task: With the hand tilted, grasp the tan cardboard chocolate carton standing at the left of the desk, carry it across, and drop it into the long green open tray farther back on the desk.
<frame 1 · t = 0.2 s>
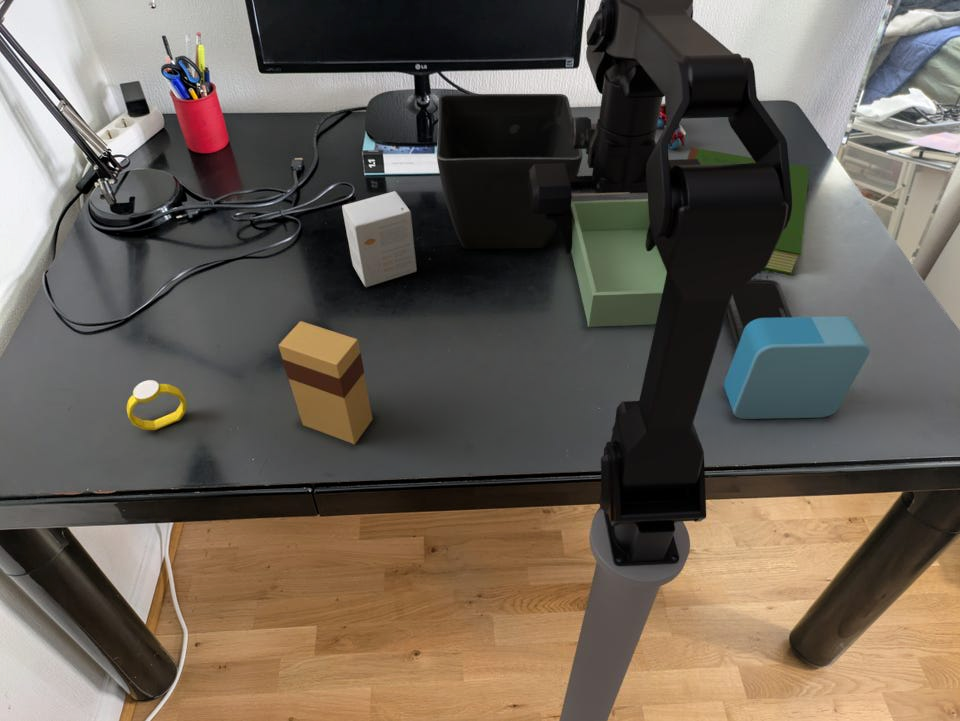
hand: (607, 250, 79), 14 cm above the table, tool pointing down, fingers open, 9 cm apart
green open tray: (622, 274, 98), on the table
watch: (166, 423, 80), on the table
blue rounded flat block: (775, 405, 81), on the table
hardcover book: (733, 218, 108), on the table
phone: (758, 323, 91), on the table
chocolate carton: (337, 422, 80), on the table
flower pot: (504, 226, 107), on the table
hoverbike: (663, 137, 126), on the table
small box: (384, 270, 100), on the table
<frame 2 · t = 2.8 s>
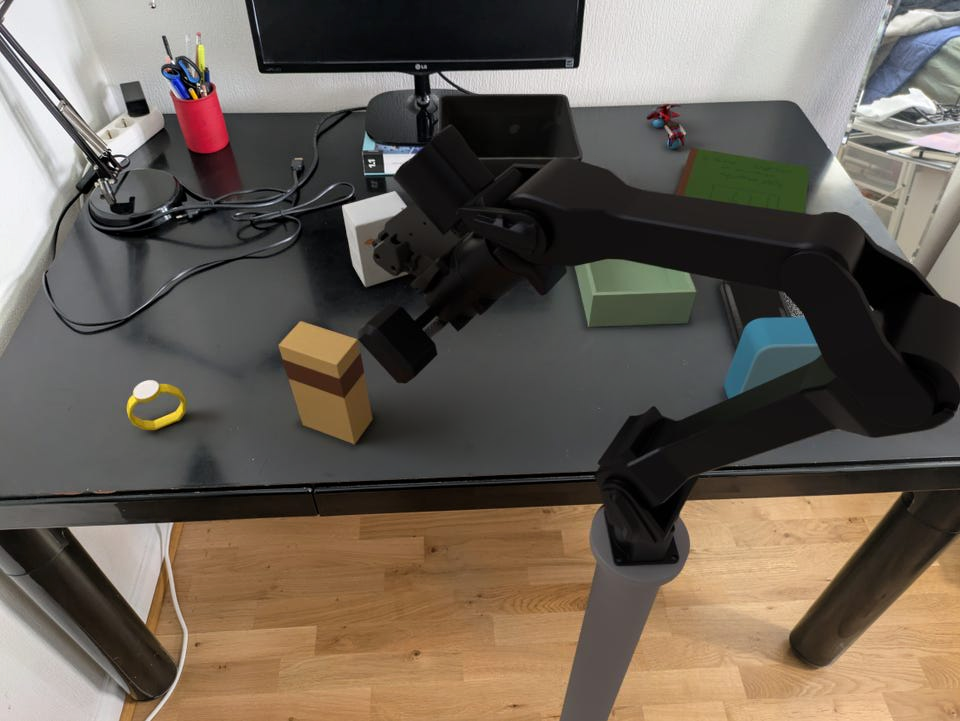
hand: (409, 329, 71), 13 cm above the table, tool tilted 35°, fingers open, 9 cm apart
nothing on the table moved.
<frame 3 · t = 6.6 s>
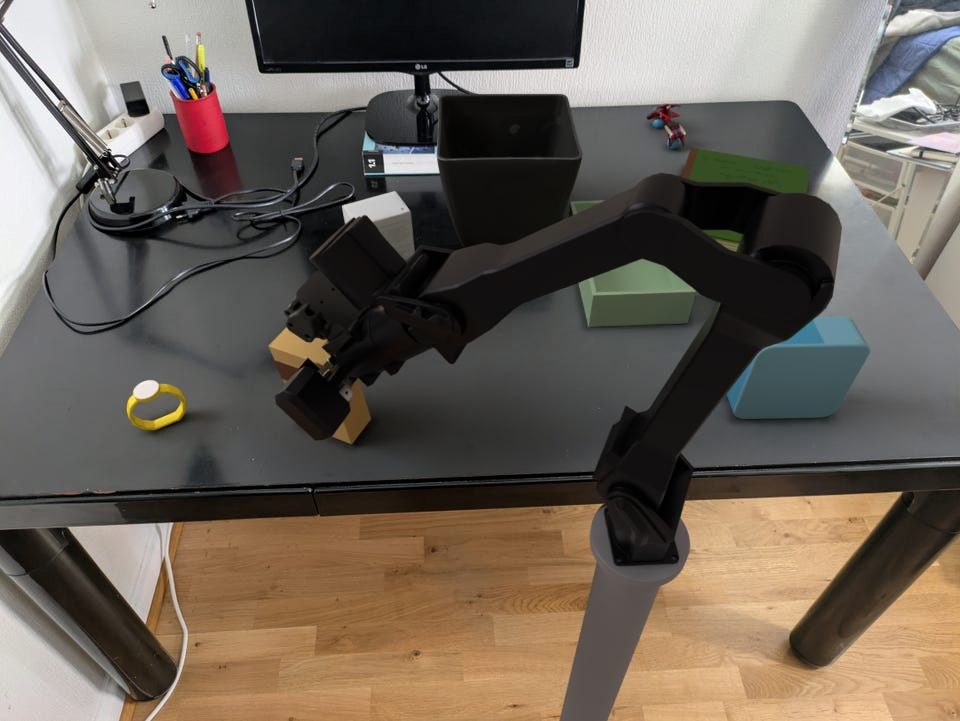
hand: (313, 375, 75), 7 cm above the table, tool tilted 45°, fingers closed on chocolate carton, 5 cm apart
chocolate carton: (336, 422, 80), on the table, touching gripper
everything else where it was.
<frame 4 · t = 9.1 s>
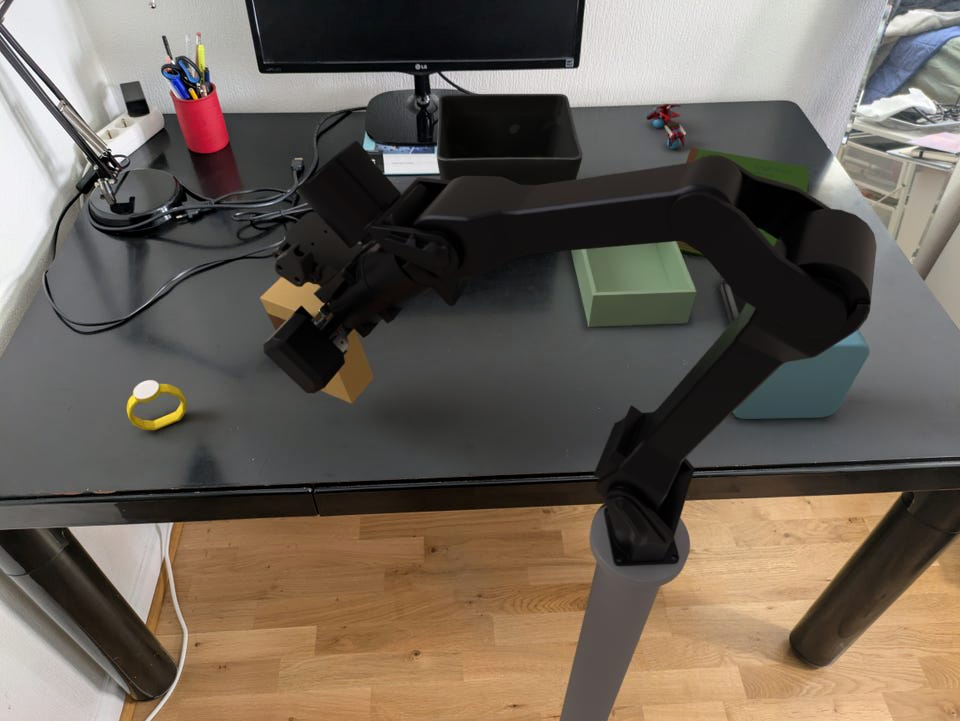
hand: (308, 332, 71), 13 cm above the table, tool tilted 45°, fingers closed on chocolate carton, 4 cm apart
chocolate carton: (338, 380, 76), point 6 cm above the table, tilted 8°, touching gripper
everything else where it was.
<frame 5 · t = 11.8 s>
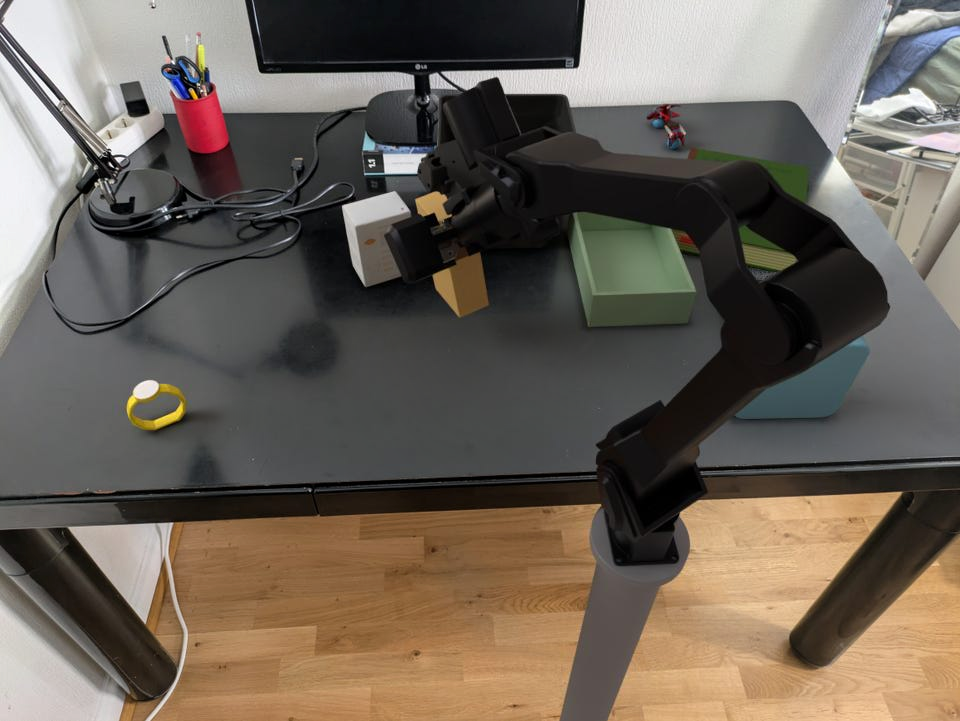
hand: (447, 244, 81), 13 cm above the table, tool tilted 45°, fingers closed on chocolate carton, 4 cm apart
chocolate carton: (461, 297, 85), point 6 cm above the table, tilted 8°, touching gripper
everything else where it was.
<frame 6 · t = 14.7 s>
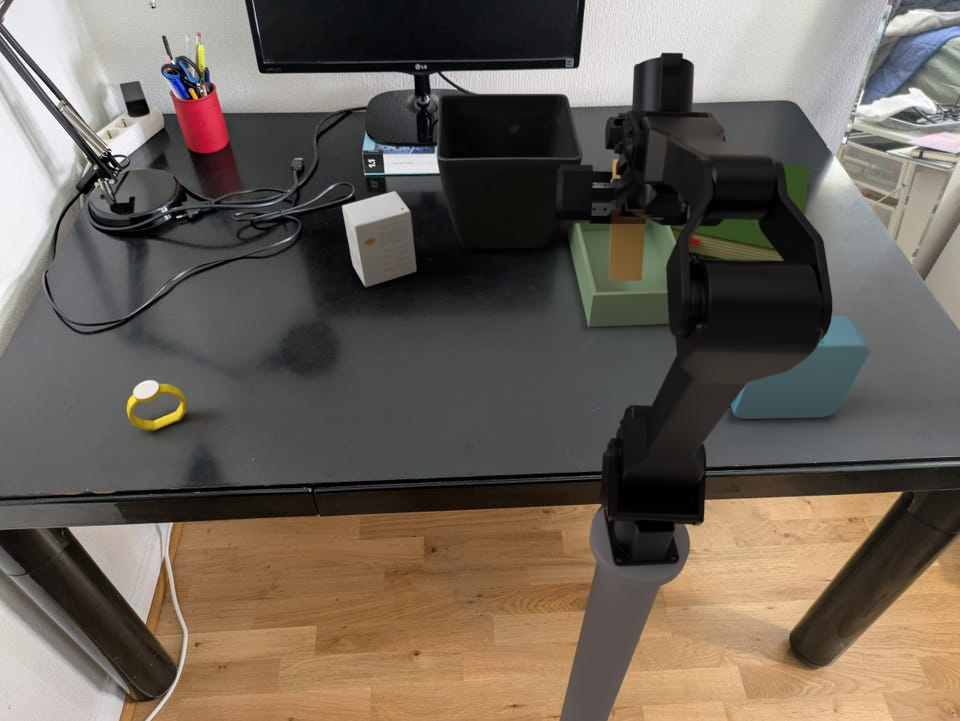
hand: (626, 210, 86), 13 cm above the table, tool tilted 45°, fingers closed on chocolate carton, 4 cm apart
chocolate carton: (625, 265, 89), point 6 cm above the table, tilted 8°, touching gripper
everything else where it was.
when the fingers open (8 cm above the table, at t = 16.9 s): chocolate carton stays where it is, resting on green open tray.
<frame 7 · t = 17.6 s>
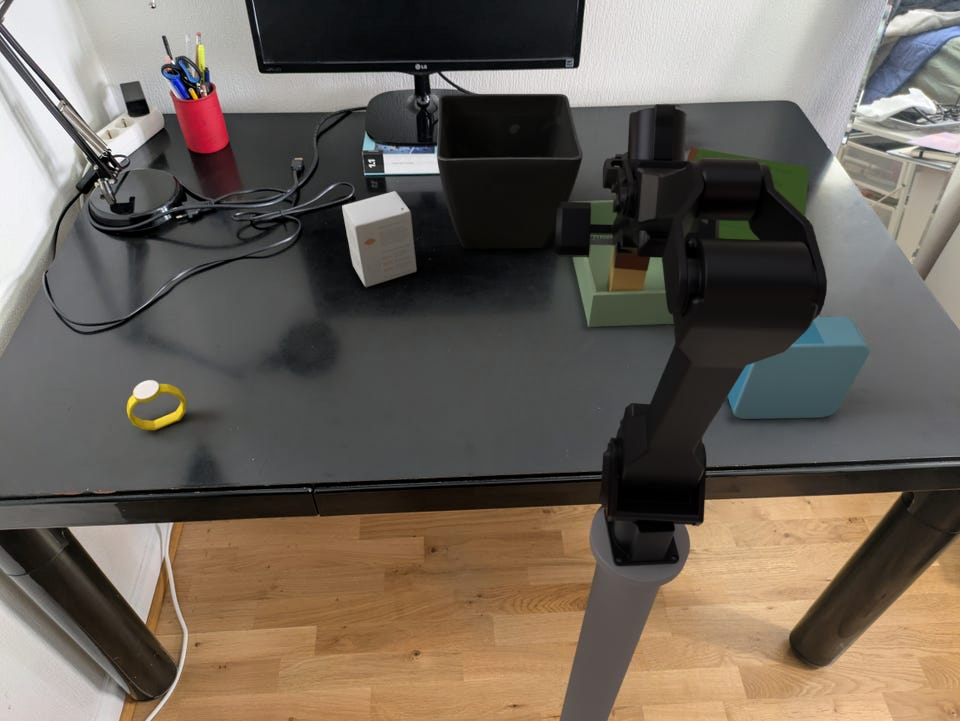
hand: (623, 242, 89), 9 cm above the table, tool tilted 45°, fingers open, 9 cm apart
chocolate carton: (621, 300, 94), resting on green open tray
everything else where it was.
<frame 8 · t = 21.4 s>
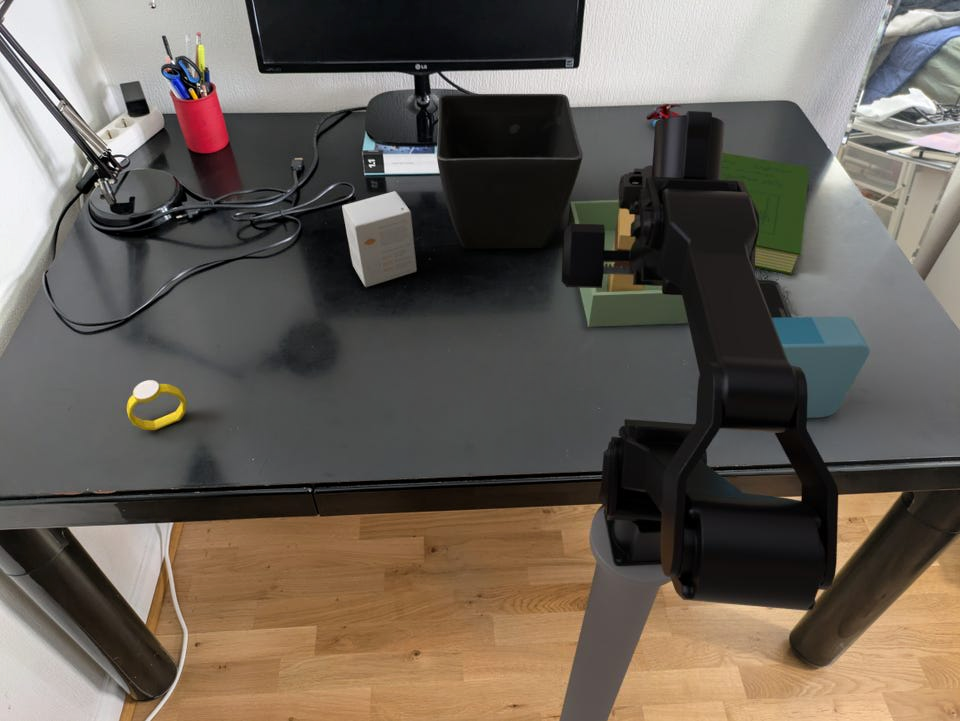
hand: (641, 268, 78), 14 cm above the table, tool tilted 45°, fingers open, 9 cm apart
nothing on the table moved.
at the end: chocolate carton inside the target area in the green open tray (6.2 cm from its centre), point 0.5 cm above the green open tray's base; the gripper is holding nothing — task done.
